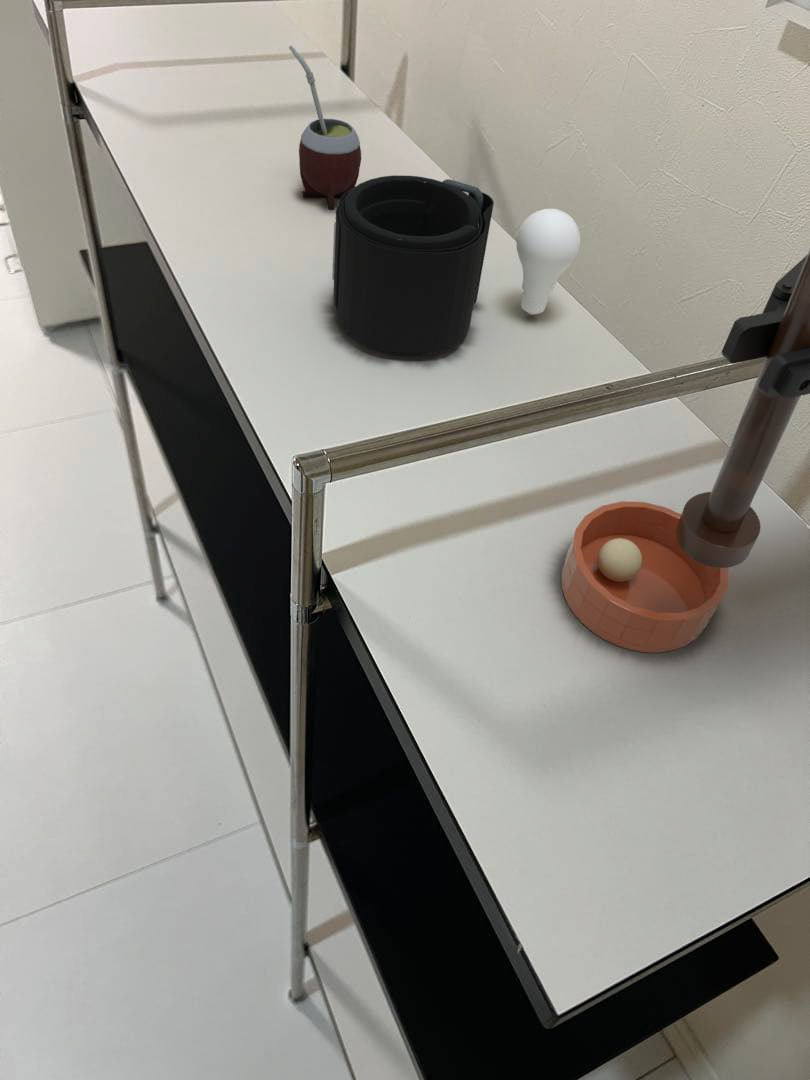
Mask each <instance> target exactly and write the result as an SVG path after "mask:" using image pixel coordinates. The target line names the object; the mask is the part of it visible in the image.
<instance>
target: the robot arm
mask: <svg viewBox="0 0 810 1080" xmlns="http://www.w3.org/2000/svg"><path fill="white" fill-rule="evenodd" d="M806 258H807V255H805V256H804V257H803V258H802V259H801V260H800V261H799V262H798V263H797V264H795V265H794V266H793V267H792V268H790V270H788V271H787V273H785V274H784V275H783V276H782V277H781V278H780V279H779V280H778V281H777V282H775V284H774V287H773V288H772V291H771V293H770V296H769V298H768V300H767V302H766V304H765V306H764V309H763V311H762V313H758V314H752V315H749V316H748V315H747V316H742V317H741V316H740V317H739V318H737V319H736V320H734V321H733V324H732V327H731V328H730V331H729V333H728V336H727V338H726V340H725V343H724V345H723V347H722V350H721V355H722V357H724V358H725V359H726V360H727V361H728V362H729V363H730V364H738V363H743V362H748V361H752V360H757V359H758V360H759V359H761V358H766V356H767V354H768V351H769V349H770V346H771V344H772V341H773V339H774V336H775V334H776V332H777V329H778V327H779V324H780V322H781V319H782V317H783V314H784V312H785V309H786V307H787V304H788V302H789V300H790V297H791V295H792V292H793V290H794V287H795V285H796V282H797V280H798V277H799V275H800V272H801V270H802V268H803V265H804V263H805V260H806ZM758 389H759V390H760V391H761V392H763V393H764V394H765V395H766V396H767V397H768V398H773V397H777V396H782V397H790V398H794V397H798V396H801V397H802V396H806V395H810V348H805V349H801V350H796V351H791V352H787V353H782V354H779V355H777V356H775V357H774V358H773V359H772V360H771V361H770V362H769V364H768V366H767V368H766V370H765V372H764V374H763V376H762V378H761V381H760V383H759V385H758Z"/></svg>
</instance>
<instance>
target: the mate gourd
mask: <svg viewBox="0 0 810 1080" xmlns="http://www.w3.org/2000/svg"><path fill="white" fill-rule="evenodd" d="M288 49H289V50H290V52H291V53H292V54H293V56H294V57H295V58H296V60H297V61H298V62H299V64H300V65H301V67H302V69H303V70H304V72H305V78H306V82H307V83H308V84H309V87H310V88H309V89H310V91H311V95H312V99H313V102H314V107H315V111H316V114H317V118H318V119H315V120H313V121H311V122H309V124H308V125H307V126H306V127H305V129H304V130H303V131H302V134H301V136H300V140H299V145H298V158H299V159H298V160H299V163H298V164H299V166H298V167H299V175H300V179H301V182H302V185H303V189H304V190H302V191H301V193H302V199H324V200H325V201H326V207H327V210H333V211H334V210H335V208H336V206H335V205H336V204H335V200H337V199H339V200H340V199H341V197H342V195H343V194H344V193H346V192H347V191H349V190H350V189H351V188H354V187H356V186H357V182H358V180H359V175H360V168H361V162H362V149H361V142H360V138H359V136H358V133H357V131H356V130H355V128H354V126H352V125H351V124H349V122H346V121H344V120H340V119H334V118H324V116H323V115H324V114H323V112H322V108H321V104H320V99H319V96H318V92H317V86H316V83H315V82H316V79H315V76H314V73H313V71H311V69H310V67H309V65H308V64H307V62H306V60H305V59H304V58H303V57H302V56H301V55H300V53H299V52H298V51H297V50H296V49H295V48H294V46H293V45H289V47H288Z"/></svg>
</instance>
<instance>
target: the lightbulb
mask: <svg viewBox="0 0 810 1080" xmlns="http://www.w3.org/2000/svg"><path fill="white" fill-rule="evenodd" d="M515 243H516V251H517V256H518V259H519V262H520V264H521V267H522V285H521V288H522V290H523V291H522V297H521V302H520V306H521V308H522V310H523V311H525V312H526V313H527V314H528V315H531V316H532V315H533V316H534V315H538V314H539V315H540V314H542V313H543V312H544V311H545V310H546V307H547V304H548V301H549V298H550V296H551V295H552V294H553V291H554V288H555V286H556V283H557V281H558V280H559V278H560V277H561V275H562V274H563V273H564V272H565V271H566V270H567V269H568V268H569V267H570V266H571V265H572V264H573V262H575V259H576V257H577V255H578V254H579V251H580V246H581V234H580V230H579V226H578V224H577V223H576V221H575V220H574V219H573V218H572V217H571V216H570V215H569V214H568V213H567V212H564V211H563V210H560V209H557V208H543V209H539V210H537V211H534V212H533V213H531V214H530V215H529V216H528V217H526V219H525V220H524V221H523V223H522V224H521V226H520V227H519V230H518V232H517V236H516V242H515Z"/></svg>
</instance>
